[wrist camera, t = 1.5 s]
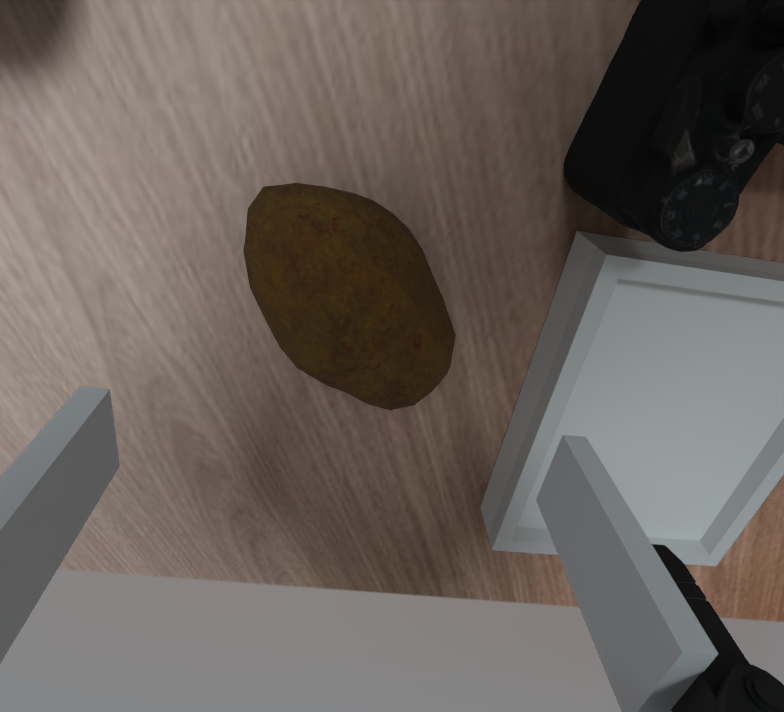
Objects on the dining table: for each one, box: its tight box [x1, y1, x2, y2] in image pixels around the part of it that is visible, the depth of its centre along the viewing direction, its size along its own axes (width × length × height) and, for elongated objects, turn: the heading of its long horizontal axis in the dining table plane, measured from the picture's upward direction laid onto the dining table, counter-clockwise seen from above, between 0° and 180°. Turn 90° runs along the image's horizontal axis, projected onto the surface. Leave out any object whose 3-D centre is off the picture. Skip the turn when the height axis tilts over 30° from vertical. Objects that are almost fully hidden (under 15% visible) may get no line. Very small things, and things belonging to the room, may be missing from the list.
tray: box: [480, 231, 784, 566], centre depth 30 cm, size 20×16×4 cm
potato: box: [244, 183, 456, 410], centre depth 23 cm, size 8×12×8 cm, turn 43°
